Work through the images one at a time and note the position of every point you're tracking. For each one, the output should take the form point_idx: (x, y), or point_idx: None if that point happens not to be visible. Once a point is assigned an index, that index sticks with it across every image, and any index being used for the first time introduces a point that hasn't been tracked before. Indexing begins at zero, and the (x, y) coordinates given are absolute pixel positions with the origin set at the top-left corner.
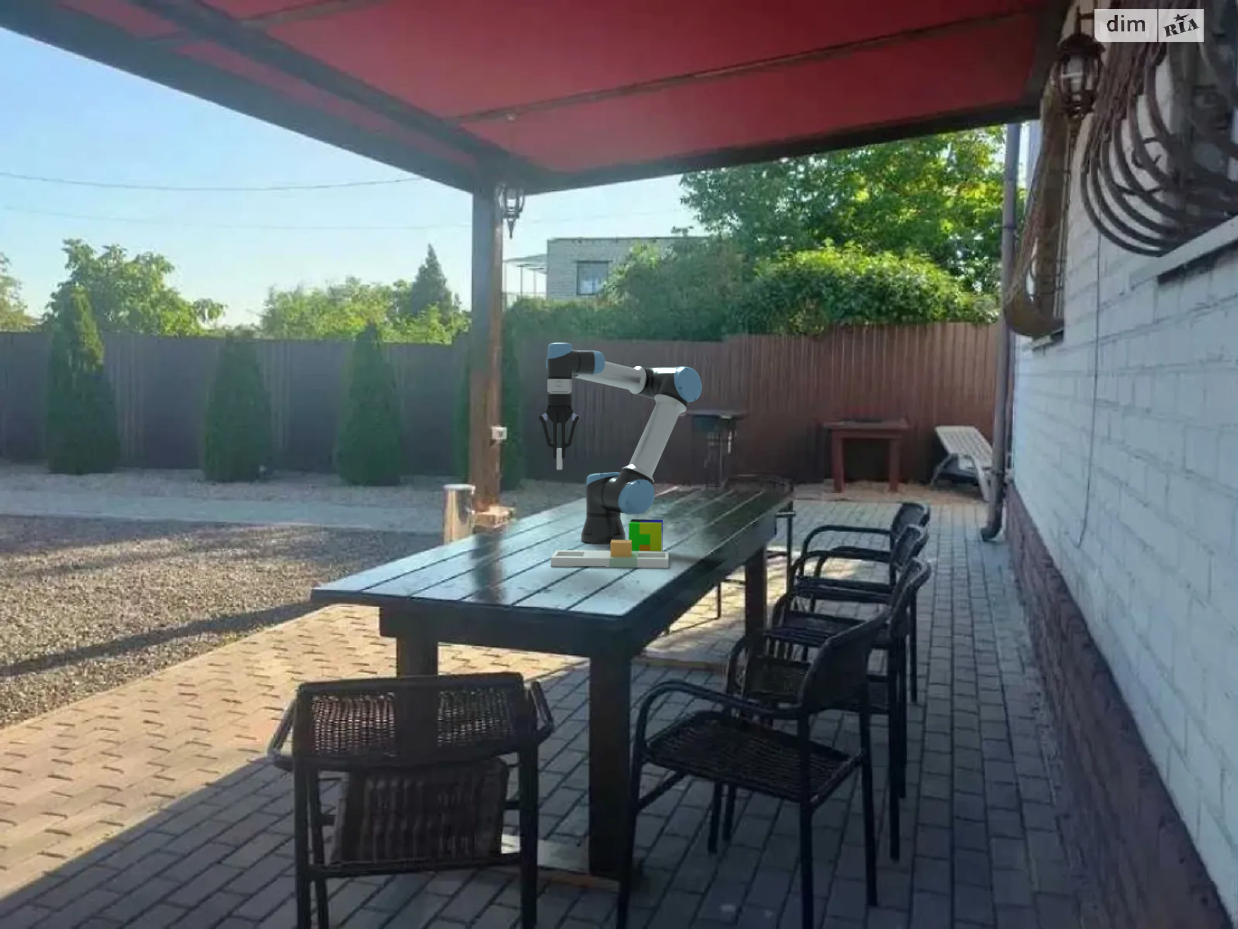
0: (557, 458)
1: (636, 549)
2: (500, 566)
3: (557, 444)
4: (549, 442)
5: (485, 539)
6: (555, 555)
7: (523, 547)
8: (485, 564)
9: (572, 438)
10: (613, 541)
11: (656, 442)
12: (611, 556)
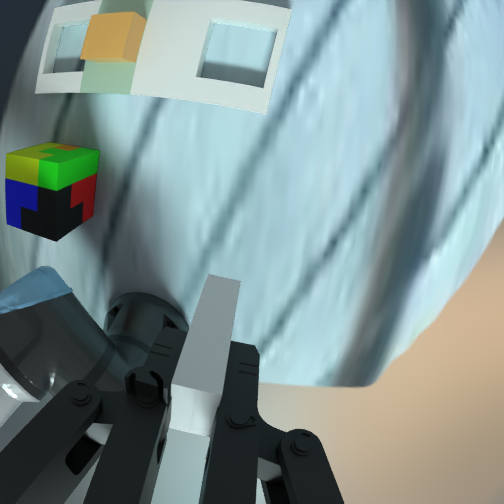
0: (225, 327)
1: (80, 150)
2: (399, 43)
3: (208, 457)
4: (299, 462)
5: (366, 367)
6: (277, 34)
7: (320, 278)
8: (426, 75)
9: (23, 428)
10: (123, 31)
11: None
12: (145, 18)
